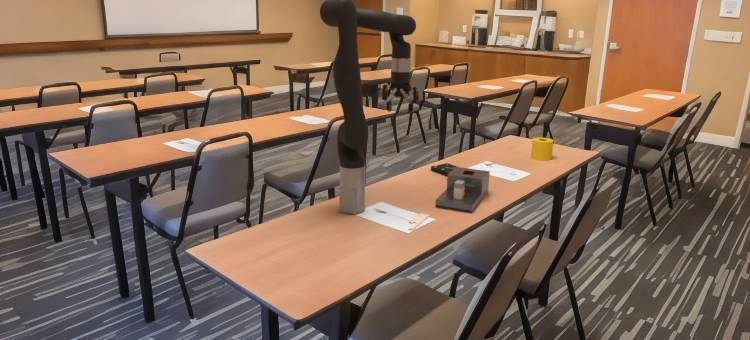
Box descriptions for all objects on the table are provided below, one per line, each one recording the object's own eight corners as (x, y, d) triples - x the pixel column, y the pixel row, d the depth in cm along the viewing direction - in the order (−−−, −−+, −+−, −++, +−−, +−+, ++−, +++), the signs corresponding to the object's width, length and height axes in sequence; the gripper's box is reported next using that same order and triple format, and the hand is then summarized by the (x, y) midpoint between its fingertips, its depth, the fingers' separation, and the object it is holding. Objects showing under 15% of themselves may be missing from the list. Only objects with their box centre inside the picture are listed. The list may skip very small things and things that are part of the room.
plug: (460, 204, 207) (462, 184, 205) (453, 202, 208) (454, 182, 206) (463, 200, 211) (465, 181, 208) (456, 199, 212) (457, 180, 209)
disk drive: (430, 172, 252) (452, 180, 240) (430, 166, 251) (452, 174, 239) (446, 168, 258) (469, 176, 246) (447, 162, 257) (469, 170, 245)
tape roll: (554, 161, 270) (556, 142, 267) (533, 160, 270) (535, 142, 267) (548, 155, 279) (550, 137, 277) (528, 155, 280) (530, 137, 277)
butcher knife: (399, 228, 187) (399, 225, 187) (416, 215, 200) (417, 212, 200) (412, 231, 185) (412, 228, 185) (429, 217, 198) (429, 214, 197)
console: (471, 213, 201) (473, 190, 198) (435, 207, 206) (436, 184, 204) (488, 192, 224) (489, 171, 221) (454, 187, 229) (456, 166, 226)
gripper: (379, 70, 207) (379, 112, 211) (415, 72, 201) (413, 115, 206) (387, 68, 213) (386, 109, 218) (421, 70, 208) (420, 112, 212)
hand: (399, 112), depth 212 cm, fingers open, 8 cm apart
